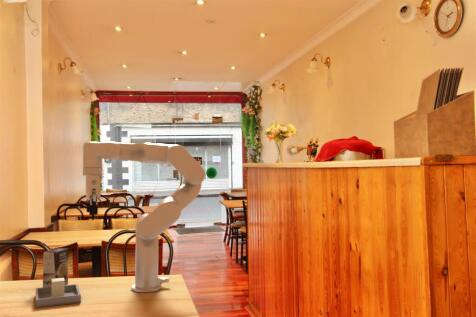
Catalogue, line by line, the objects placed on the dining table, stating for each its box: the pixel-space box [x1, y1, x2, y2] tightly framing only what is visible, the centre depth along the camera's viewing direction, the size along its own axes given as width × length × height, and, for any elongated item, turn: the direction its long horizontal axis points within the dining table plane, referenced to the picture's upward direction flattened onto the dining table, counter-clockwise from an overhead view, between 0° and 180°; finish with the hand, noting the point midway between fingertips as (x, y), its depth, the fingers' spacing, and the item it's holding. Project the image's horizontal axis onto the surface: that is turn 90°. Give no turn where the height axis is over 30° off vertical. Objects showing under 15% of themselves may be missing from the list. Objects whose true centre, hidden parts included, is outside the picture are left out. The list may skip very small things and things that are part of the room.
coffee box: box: [42, 247, 69, 288], centre depth 188 cm, size 9×6×16 cm
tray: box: [35, 283, 82, 309], centre depth 173 cm, size 16×16×3 cm
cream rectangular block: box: [51, 278, 65, 297], centre depth 173 cm, size 4×4×7 cm
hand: (92, 213), depth 183 cm, fingers open, 9 cm apart
